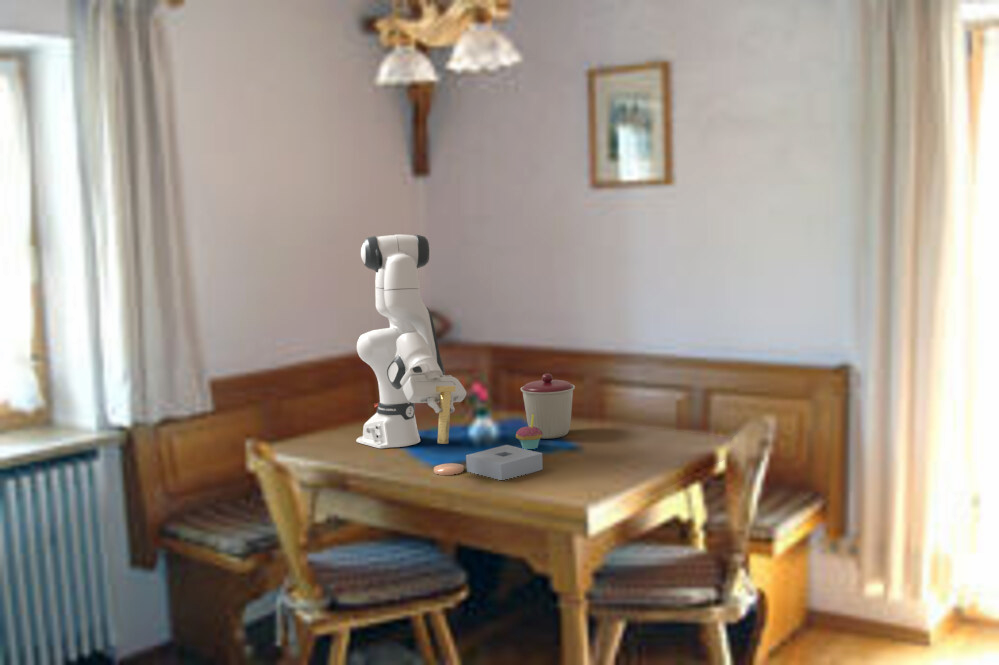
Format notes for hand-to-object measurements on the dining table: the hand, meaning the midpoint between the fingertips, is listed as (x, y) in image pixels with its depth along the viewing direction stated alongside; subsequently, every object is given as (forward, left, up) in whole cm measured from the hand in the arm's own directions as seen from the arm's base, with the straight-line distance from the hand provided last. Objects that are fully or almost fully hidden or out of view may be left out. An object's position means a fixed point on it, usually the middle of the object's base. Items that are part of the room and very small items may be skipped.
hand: (445, 411), depth 305 cm
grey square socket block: (+13, +10, -19) cm, 25 cm away
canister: (0, +52, -19) cm, 56 cm away
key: (-1, -1, -9) cm, 9 cm away
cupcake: (+4, +35, -19) cm, 40 cm away
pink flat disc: (-2, +2, -19) cm, 19 cm away
